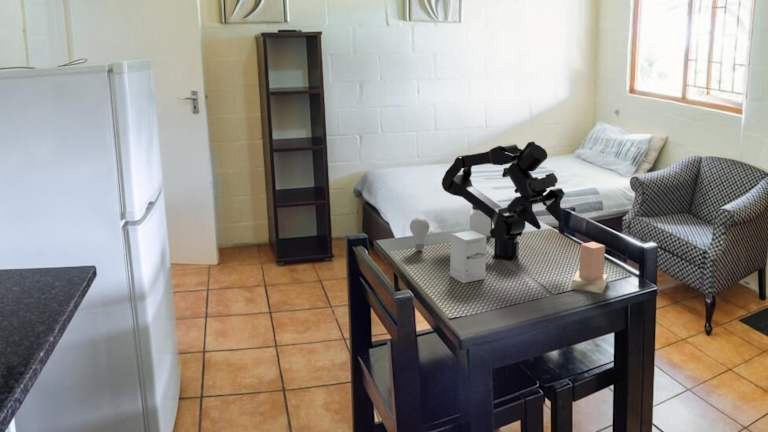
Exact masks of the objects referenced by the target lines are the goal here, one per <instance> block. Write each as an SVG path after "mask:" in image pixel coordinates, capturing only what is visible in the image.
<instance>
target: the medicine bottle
mask: <svg viewBox="0 0 768 432" xmlns="http://www.w3.org/2000/svg"><path fill="white" fill-rule="evenodd" d="M471 207H472V209H471V211H470V214H469V231H475V232H477V233H480V234H482V235H484V236H486V237H491V235H490V230H491V229H492V228H493V221H492V220H491V219H490V218H489V217H488V216H486V215H485V214H484V213H482V212H481V211H480V210H478V209H477V208H476V207H474V206H473V205H472V204H471Z"/></svg>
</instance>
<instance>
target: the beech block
mask: <svg viewBox="0 0 768 432" xmlns="http://www.w3.org/2000/svg"><path fill="white" fill-rule="evenodd" d="M608 277H609V274H606V273H603V278H600V279H596V280H592V281H590V280H588V279H585V278H583V277H580V276H579V269H578V270H577V271H576V273H575V275H574V276H573V277H572V279H571V289H572V290H579V291H583V292H584V291H586V292H591V293H592V292H593V293H598V294H599V293H600V294H603V292H604V290H605V288H606V286H607V284H608Z"/></svg>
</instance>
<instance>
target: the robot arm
mask: <svg viewBox="0 0 768 432" xmlns="http://www.w3.org/2000/svg"><path fill="white" fill-rule="evenodd" d="M547 159H548V152H547V150H546V149H545V148H543V146H541V145H539V144H537V143H536V142H535V141H534V140H533V141H529V142H527V143H526V145H525V147H524V148H520V147H518V145H517V144H516V143H508V144H503V145H497V146H495V147H493V148H491V149H489V150H488V151H484V152H478V153H473V154H464V155H462V154H461V155H458V156H457V157H456V158H455V159H454V161H453V163H452V164H451V165H450V167H449V168H448V169H447V170H445V173H444V175H443V177H442V179H441V187H442V189H443V190H444V191H445V192H446V193H448V194H450V195H452V196H456V197H460V198H463V200H465V201H467V202H468V203H469V204H470V205H471V206H472V205H473V206H474V207H476V208H477V209H478V210H480V211H481V212H482V213H484V214H485V215H486V216H488V217H489V218H490V219H491V220H492V226H493V227H492V229H491V230H490V235H491V236H490V238H491V239H494V246H493V247H494V248H493V249H494V253H493V254H492V256H491V258H493V259H502V260H507V261H514V260H515V259H516V258H517V257H518V255H519V254H520V253H519V251H520V242H519V241H518V238H519V237H521V236H522V234H523V232H524V231H525V229H526V223H527V224H529V225H530V226H532V227H534V228H535V229H536V230H541V229H542V226H541V223H540V222H539V220H538V218H537V216H536V213H535V212H534V210H533V206H534V205H538V204H541V203H542V205H543V206H545V208H544V209H545V210H546V211H547V212H548V213H549V215H551V216H552V218H554V219H555V220H556V222H557V223H559V224H561V225H562V224H563V223H564V218H563V214H562V213H563V212H562V208H561V203H562V200H563V199H564V196H565V195H566V193H565V191H564V190H563V189H562V188H560V187H556V186H557V185H556V184H558V181H559V180H558V178H557V176H556V174H555V173H554V172H550V173H548V174H545V176H544V177H543V176H542V177H541V178H539V177H538V176H535V177H533V175H532V173H531V172H535V171H536V170H537V169H538V168H539V167H540V166H541V165H542V164H543V163H544V162H545V161H546V160H547ZM486 164H489V165H493V166H504V165H505V166H506V165H509V166H508V167H504V168H503V172H502V173H501V177H502V178H508V177H509V180H511V182H512V183H513V185H514V187H515V189H514V193H515V194H518V195H520V196H515V197H514V198H513V200H511V201H510V202H509V203H508V204H507V205H506V207H502V206H501V205H500V204H498V203H497V202H495V201H494V200H493V199H492V198H490V197H488V196H487V195H486V194H485V193H483V192H482V191H480V190H479V189H478V188H476V187H475V186H474V185H473V182H472V179H471V177H472V175H473V174H472V167H474V166H481V165H486ZM549 188H551V189H549ZM548 189H549V190H548Z"/></svg>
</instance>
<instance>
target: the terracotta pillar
mask: <svg viewBox="0 0 768 432" xmlns="http://www.w3.org/2000/svg"><path fill="white" fill-rule="evenodd" d="M579 254H580V257H579V269H578V270H579V276H580V277H583V278H585V279H588V280H590V281H592V280H596V279H600V278H603V274H604V269H605V256H606V255H605V254H606V245H604V244H601V243H598V242H595V241H590V242H585V243H581V244H580V253H579Z"/></svg>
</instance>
